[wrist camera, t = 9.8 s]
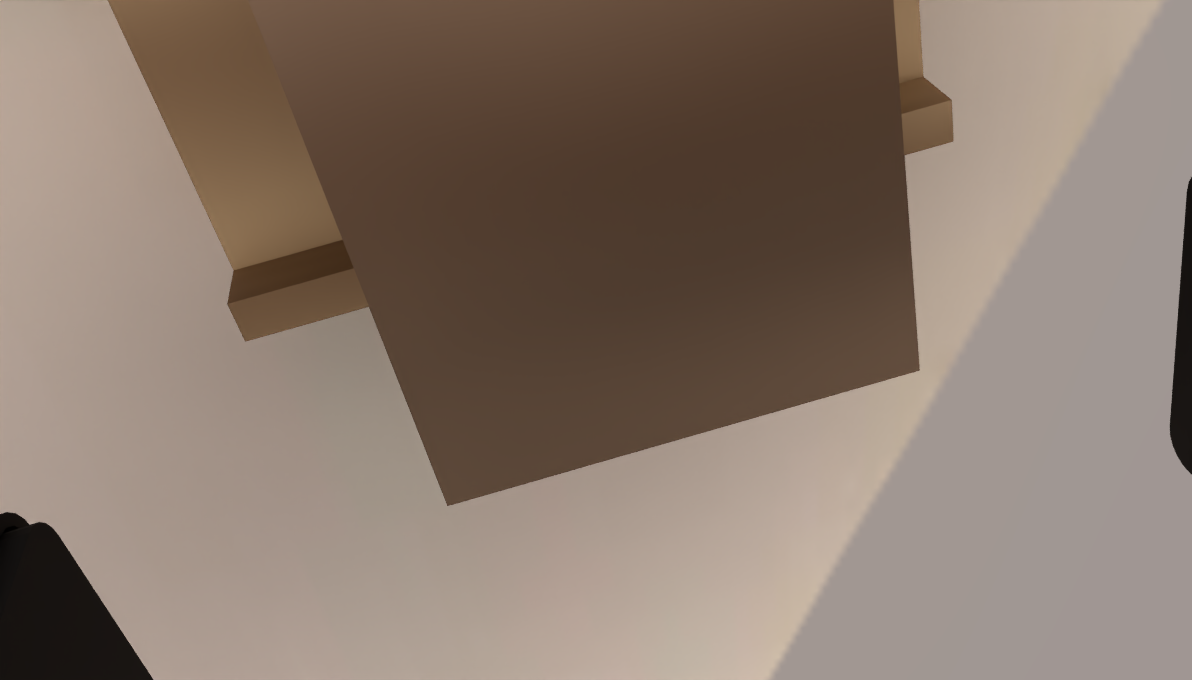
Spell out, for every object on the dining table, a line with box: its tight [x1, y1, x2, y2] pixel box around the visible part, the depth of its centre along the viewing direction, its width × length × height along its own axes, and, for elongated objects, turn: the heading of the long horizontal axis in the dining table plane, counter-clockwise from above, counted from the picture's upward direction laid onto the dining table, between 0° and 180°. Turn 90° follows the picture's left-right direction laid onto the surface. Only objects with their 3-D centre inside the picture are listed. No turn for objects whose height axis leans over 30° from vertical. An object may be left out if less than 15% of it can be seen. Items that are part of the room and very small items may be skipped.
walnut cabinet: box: [248, 0, 920, 506], centre depth 15 cm, size 7×6×9 cm
